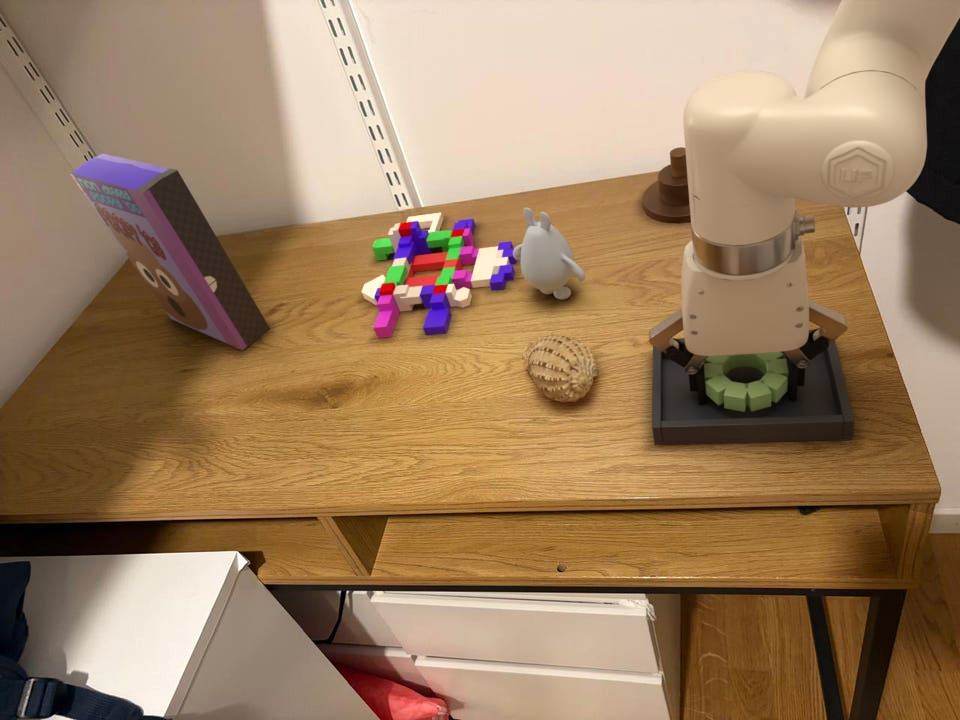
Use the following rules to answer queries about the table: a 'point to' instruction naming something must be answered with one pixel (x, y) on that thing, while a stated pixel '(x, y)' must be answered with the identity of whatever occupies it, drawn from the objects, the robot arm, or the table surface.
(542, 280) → the toy figure
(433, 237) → the building block set
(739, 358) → the ring
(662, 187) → the stand
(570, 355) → the seashell
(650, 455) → the table surface
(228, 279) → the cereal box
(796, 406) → the tray
